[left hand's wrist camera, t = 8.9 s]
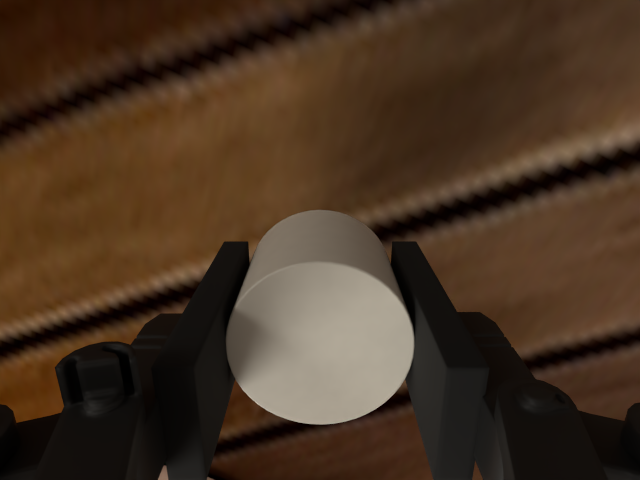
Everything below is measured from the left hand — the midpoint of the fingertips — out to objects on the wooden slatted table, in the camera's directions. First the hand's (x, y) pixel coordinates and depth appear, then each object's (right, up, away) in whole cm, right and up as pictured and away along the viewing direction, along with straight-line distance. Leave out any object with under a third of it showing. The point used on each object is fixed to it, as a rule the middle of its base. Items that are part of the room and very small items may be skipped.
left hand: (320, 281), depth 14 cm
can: (0, 0, 0) cm, 0 cm away
